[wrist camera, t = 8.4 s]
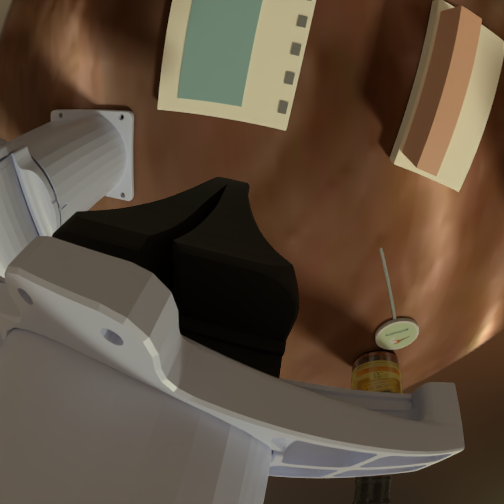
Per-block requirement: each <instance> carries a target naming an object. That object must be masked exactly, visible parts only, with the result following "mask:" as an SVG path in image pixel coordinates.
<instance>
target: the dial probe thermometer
mask: <svg viewBox="0 0 504 504" xmlns="http://www.w3.org/2000/svg"><path fill="white" fill-rule="evenodd" d="M379 249H380V254H381V258H382V263H383V268H384V273H385V278H386V283H387V288H388V294H389V299H390V305H391V310H392V316H393V320H391V321H388V322H386V323H385V324H383V325H382V326H381V327H380V328H379V329H378V330H377V332H376V334H375V339H376V343H377V345H378V346H379V347H381V348H383V349H388V350H394V349H400V348H403V347H405V346H407V345H409V344H410V343H412V342H413V341H414V340H415V339H416V338H417V336H418V334H419V327H418V324H417V323H416V321H414V320H413V319H410V318H397V319H396V313H395V307H394V301H393V295H392V290H391V285H390V280H389V275H388V270H387V266H386V262H385V258H384V253H383V250H382V247H381V248H379Z"/></svg>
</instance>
